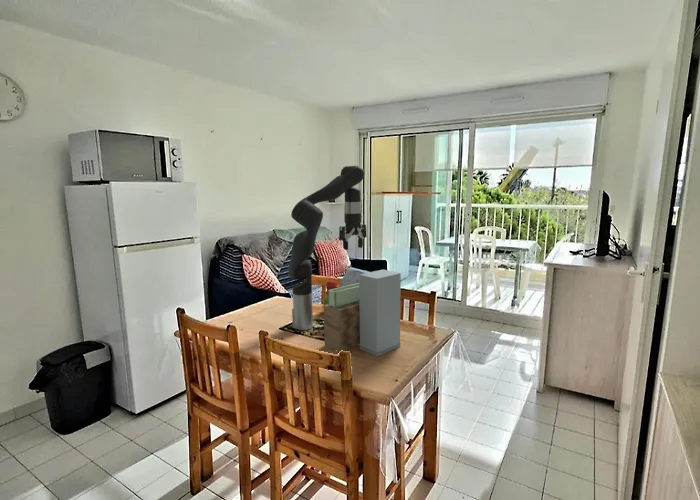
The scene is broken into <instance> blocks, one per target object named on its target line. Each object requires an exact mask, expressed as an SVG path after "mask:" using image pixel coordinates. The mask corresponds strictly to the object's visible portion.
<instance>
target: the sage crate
mask: <svg viewBox="0 0 700 500" xmlns="http://www.w3.org/2000/svg"><path fill="white" fill-rule="evenodd" d="M358 302H360V300H359V283H356V284H352V285H348V286H344V287H340V286H339V288H335V289H331V290H328V306H329V307H332V308H335V309H336V308H340V307H343V306H347V305H350V304H354V303H358Z"/></svg>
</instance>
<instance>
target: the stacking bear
mask: <svg viewBox="0 0 700 500" xmlns="http://www.w3.org/2000/svg"><path fill="white" fill-rule="evenodd" d="M339 287H340V284H339V283H338V281H336V280H335V279H331V280H327V282H326V283H325V289H326V291H325V293H324V296H323V306H324V305H326V304H328V290H331V289H335V288H339Z"/></svg>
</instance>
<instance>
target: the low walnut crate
mask: <svg viewBox="0 0 700 500" xmlns="http://www.w3.org/2000/svg"><path fill="white" fill-rule="evenodd" d="M323 328H324V329H323V331H324V333H323V334H324V337H323V338H324V346H325V347H327V348H329V349H331V350H333V351H335V350H337V351H338V353H339V351H341V350H345V351H348V350H350V349H353V348H355V347H358V346H360V302H358V303H354V304H350V305H347V306H343V307H340V308H336V309H335V308H332V307H329V306H328V304H326V305H324V304H323ZM347 349H348V350H347ZM337 351H336V352H337Z"/></svg>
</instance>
